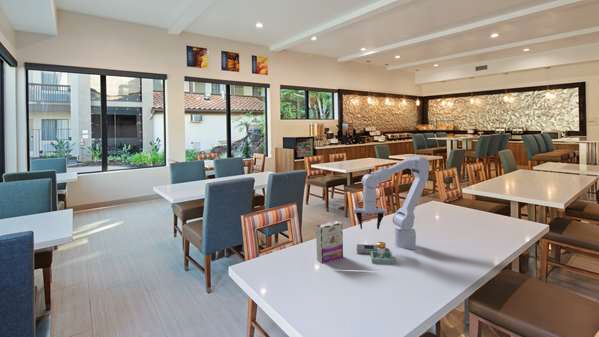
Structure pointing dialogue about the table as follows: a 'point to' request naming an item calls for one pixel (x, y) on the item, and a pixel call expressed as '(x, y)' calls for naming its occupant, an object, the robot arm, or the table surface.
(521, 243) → the table surface
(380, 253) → the pin
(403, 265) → the table surface
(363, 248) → the plate
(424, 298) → the table surface
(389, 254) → the tray
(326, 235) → the candy bar box
